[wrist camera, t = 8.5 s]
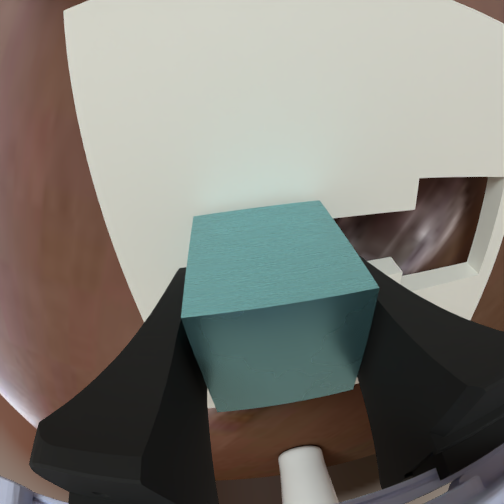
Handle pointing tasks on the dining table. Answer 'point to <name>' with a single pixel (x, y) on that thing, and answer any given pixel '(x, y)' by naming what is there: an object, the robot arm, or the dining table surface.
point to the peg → (275, 305)
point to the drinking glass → (305, 477)
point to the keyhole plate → (285, 120)
